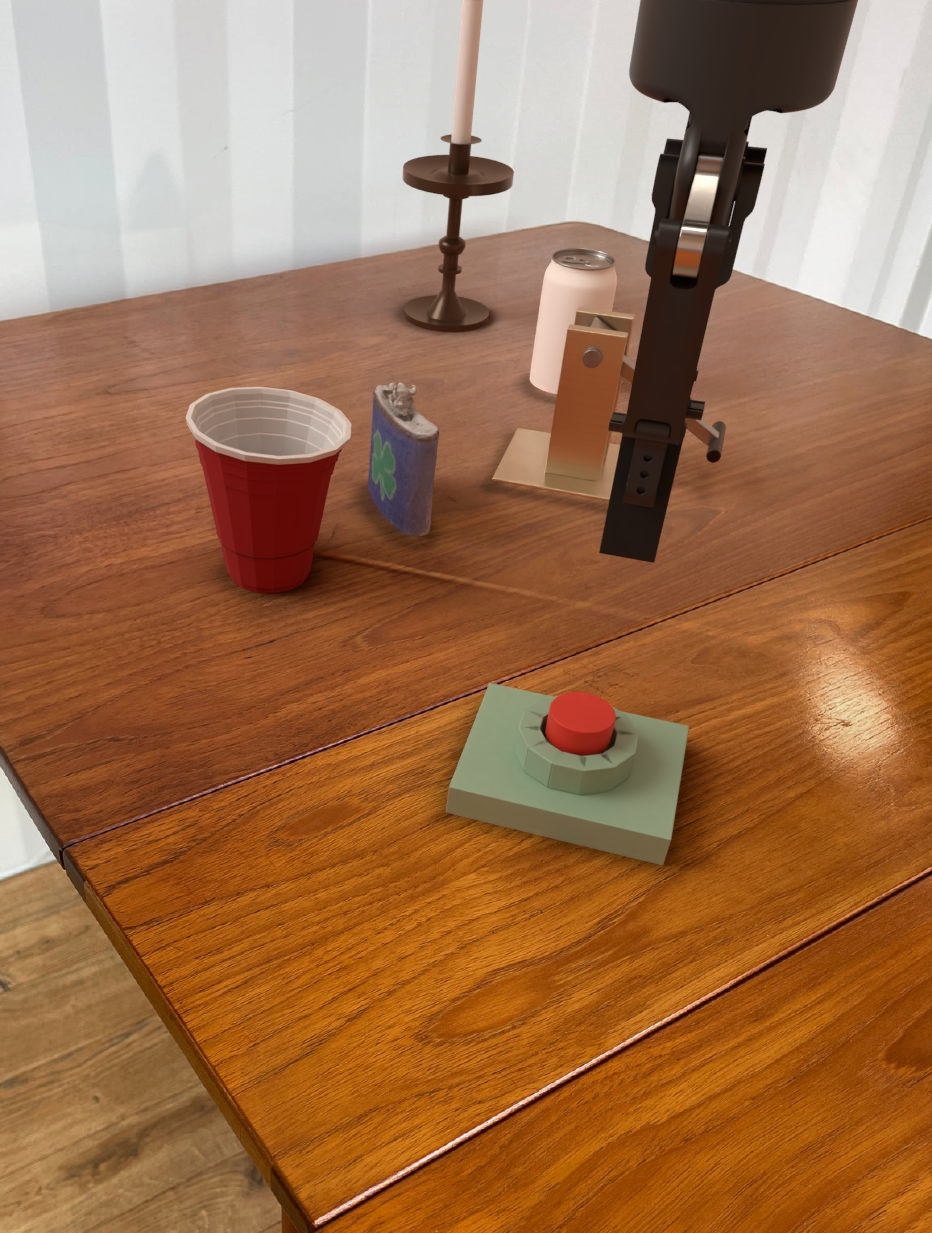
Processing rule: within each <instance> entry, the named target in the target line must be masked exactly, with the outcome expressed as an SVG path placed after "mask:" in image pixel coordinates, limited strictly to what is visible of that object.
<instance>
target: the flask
mask: <svg viewBox="0 0 932 1233" xmlns="http://www.w3.org/2000/svg"><path fill="white" fill-rule="evenodd" d="M396 384H397V385H396ZM411 386H412V387H411V388H408V387H407V384H405V383H404V382H397V383H396V382H391V383H389V384H379V385H377V386H376V387H375V388H374V389H373V393H372V394H373V398H372V415H371V417H372V418H371V433H370V447H369V448H370V450H369V463H368V466H369V468H368V475H367V490H368V493H369V495H370V498H371V500H372V502H373V504H374V505H375V506H376V508H377V509H378V511H379V512H380V513H381V515H382V516H383V517H384V518H385V519H386V520H387V521H388V522H389V523H390V524H391V526H393V527H395V528H396V529H397V530H398V531H399V532H401V533H403V534H404V535H407V536H410V537H423V536H426V535H428V534H429V533H430V531H431V525H432V512H433V493H434V488H435V473H436V466H437V458H438V446H439V440H440V439H439V438H440V429H439V427H438V426H437V425H436V424H434V422H431V420H429V419H427V418H426V417H425V416H424V415H423V414H422V413H421V412H419V410H418V409H417V408H416V407H415V406H414V403H415V401H414V398H413V397H414V396H416V395H417V385H415V384H412V385H411Z"/></svg>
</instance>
